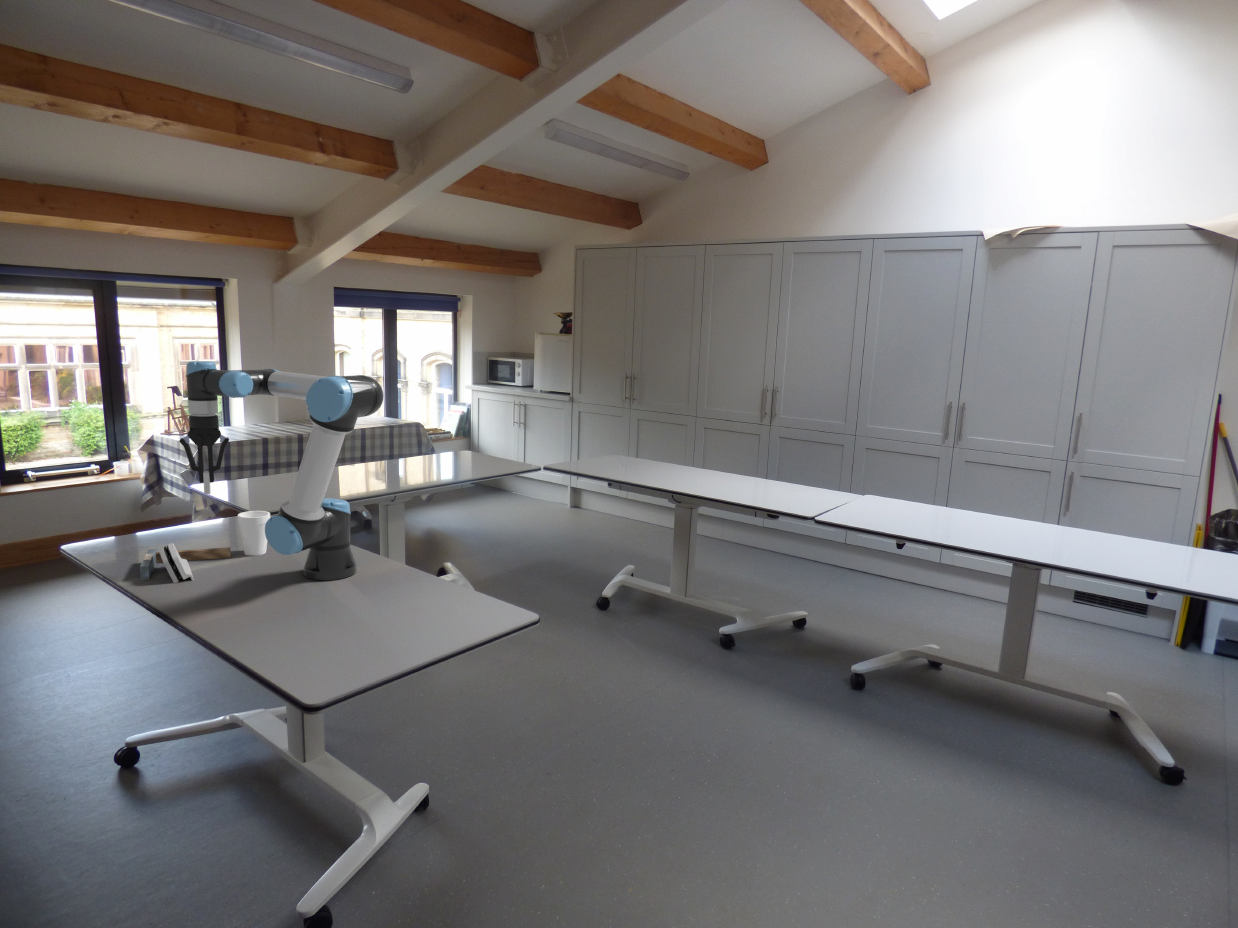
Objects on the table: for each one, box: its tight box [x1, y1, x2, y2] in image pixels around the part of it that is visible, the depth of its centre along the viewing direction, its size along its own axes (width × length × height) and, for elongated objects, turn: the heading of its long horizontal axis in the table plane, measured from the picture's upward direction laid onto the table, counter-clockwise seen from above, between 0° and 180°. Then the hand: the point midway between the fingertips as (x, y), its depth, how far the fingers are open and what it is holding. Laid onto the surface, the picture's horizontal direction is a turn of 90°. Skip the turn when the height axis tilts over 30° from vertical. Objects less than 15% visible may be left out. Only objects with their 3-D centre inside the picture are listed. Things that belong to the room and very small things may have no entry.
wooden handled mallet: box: [139, 547, 232, 581], centre depth 217 cm, size 22×17×4 cm
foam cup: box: [237, 510, 271, 557], centre depth 233 cm, size 10×9×13 cm
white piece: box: [158, 542, 195, 584], centre depth 211 cm, size 17×5×10 cm, turn 35°
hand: (207, 493), depth 213 cm, fingers closed
